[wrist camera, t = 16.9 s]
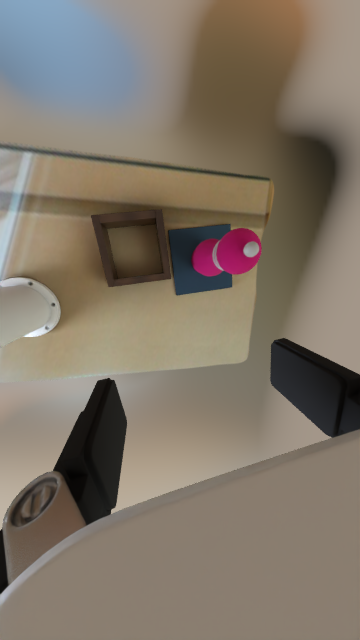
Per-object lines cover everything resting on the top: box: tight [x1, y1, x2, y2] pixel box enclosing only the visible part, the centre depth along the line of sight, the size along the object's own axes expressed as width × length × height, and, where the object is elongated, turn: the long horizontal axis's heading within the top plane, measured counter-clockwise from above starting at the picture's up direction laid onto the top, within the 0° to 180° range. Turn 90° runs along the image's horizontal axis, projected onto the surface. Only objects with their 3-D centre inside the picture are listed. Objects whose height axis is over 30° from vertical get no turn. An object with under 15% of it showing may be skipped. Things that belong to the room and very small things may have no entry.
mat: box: [168, 224, 232, 295], centre depth 39 cm, size 14×14×1 cm
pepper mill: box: [191, 228, 261, 276], centre depth 29 cm, size 7×7×20 cm
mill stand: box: [91, 209, 171, 287], centre depth 34 cm, size 13×13×4 cm
